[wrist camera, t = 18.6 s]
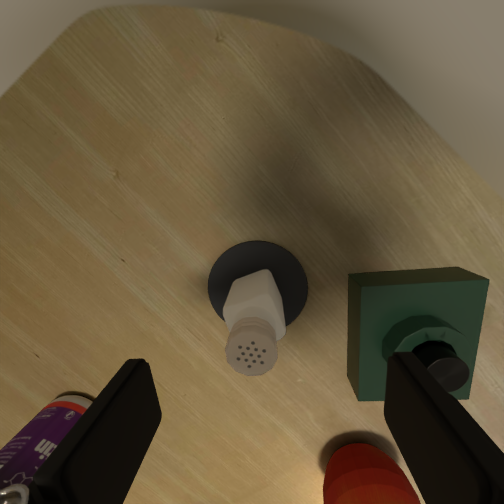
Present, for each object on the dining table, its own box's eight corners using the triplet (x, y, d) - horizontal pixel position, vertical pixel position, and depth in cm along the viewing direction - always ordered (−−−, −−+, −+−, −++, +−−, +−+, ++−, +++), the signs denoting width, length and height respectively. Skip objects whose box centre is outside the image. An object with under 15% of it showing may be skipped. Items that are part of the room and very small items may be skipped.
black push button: (409, 340, 19) (426, 358, 17) (451, 339, 19) (473, 356, 17) (406, 373, 20) (422, 394, 18) (446, 372, 19) (467, 393, 17)
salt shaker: (247, 313, 24) (234, 389, 15) (231, 279, 23) (207, 337, 14) (283, 300, 23) (294, 371, 14) (268, 265, 22) (270, 316, 13)
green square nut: (348, 273, 23) (370, 296, 18) (458, 266, 22) (512, 288, 17) (347, 376, 26) (365, 419, 21) (443, 373, 25) (486, 417, 20)
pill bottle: (123, 431, 30) (-3, 641, 16) (73, 446, 31) (-84, 652, 17) (89, 382, 28) (-86, 570, 14) (38, 400, 29) (-168, 588, 15)
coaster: (202, 244, 23) (201, 245, 22) (305, 236, 22) (306, 237, 22) (215, 333, 25) (214, 336, 25) (308, 329, 24) (309, 332, 24)
